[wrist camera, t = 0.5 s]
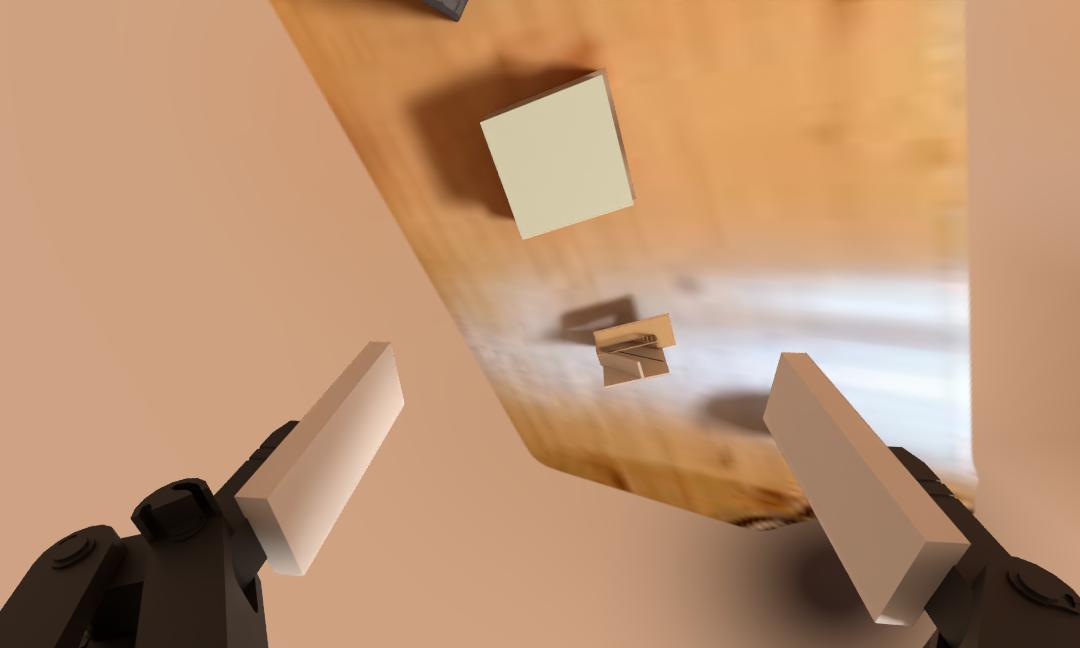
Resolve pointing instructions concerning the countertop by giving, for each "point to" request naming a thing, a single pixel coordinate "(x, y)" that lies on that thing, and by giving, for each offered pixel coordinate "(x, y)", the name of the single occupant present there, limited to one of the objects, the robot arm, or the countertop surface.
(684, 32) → the countertop surface
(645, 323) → the architectural model
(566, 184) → the tower top
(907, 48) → the countertop surface
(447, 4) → the box
